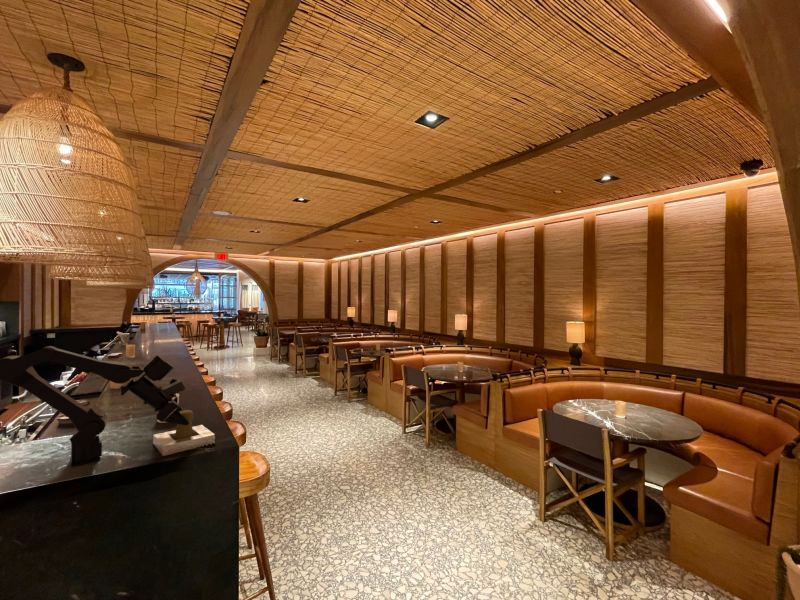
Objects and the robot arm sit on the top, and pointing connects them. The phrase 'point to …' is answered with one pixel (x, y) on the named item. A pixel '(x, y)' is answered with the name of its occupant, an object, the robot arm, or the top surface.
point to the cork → (185, 426)
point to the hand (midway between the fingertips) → (187, 420)
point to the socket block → (182, 440)
